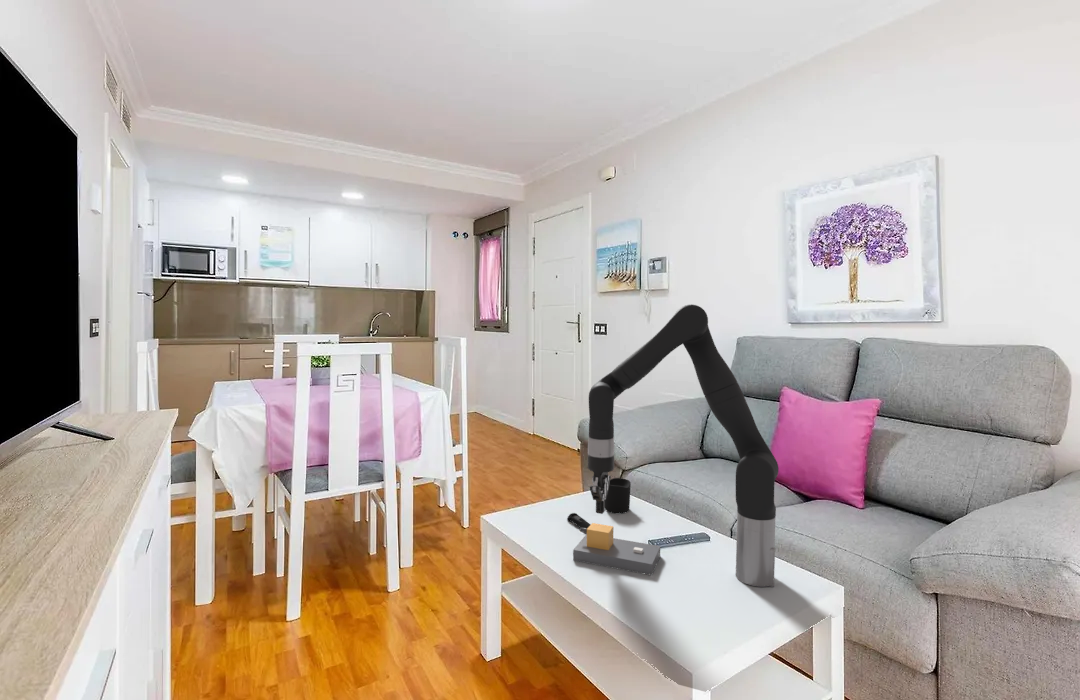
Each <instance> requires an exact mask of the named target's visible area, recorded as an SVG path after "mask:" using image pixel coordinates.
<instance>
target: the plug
mask: <svg viewBox="0 0 1080 700" xmlns="http://www.w3.org/2000/svg"><path fill="white" fill-rule="evenodd" d="M590 524H591V525H590V526H589V527H588V528H579V532H580V533H586V534H587V547H593V548H598V549H604V550H609V549H610V547H611V546H612V545H613V538H614V526H613V525H607V524H600V523H596V522H592V523H590Z"/></svg>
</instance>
